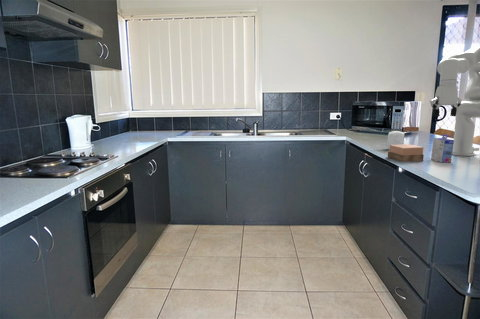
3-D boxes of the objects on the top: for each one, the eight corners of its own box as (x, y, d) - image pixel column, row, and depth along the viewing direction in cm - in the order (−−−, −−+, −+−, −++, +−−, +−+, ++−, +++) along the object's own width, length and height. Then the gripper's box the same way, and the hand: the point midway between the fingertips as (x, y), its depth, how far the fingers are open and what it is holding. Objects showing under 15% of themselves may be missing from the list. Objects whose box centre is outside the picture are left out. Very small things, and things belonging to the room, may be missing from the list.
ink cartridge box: (452, 162, 166) (455, 135, 163) (441, 162, 166) (444, 135, 163) (440, 159, 176) (442, 133, 173) (430, 159, 176) (433, 133, 173)
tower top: (408, 150, 183) (408, 144, 183) (422, 154, 172) (423, 147, 171) (389, 151, 182) (389, 145, 181) (402, 155, 170) (403, 148, 169)
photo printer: (401, 148, 211) (403, 130, 209) (404, 149, 207) (405, 131, 205) (385, 148, 212) (387, 130, 210) (388, 149, 208) (389, 131, 206)
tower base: (408, 157, 185) (408, 150, 184) (423, 161, 172) (423, 154, 171) (387, 158, 183) (387, 151, 183) (400, 162, 171) (401, 155, 170)
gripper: (458, 83, 167) (454, 115, 171) (427, 84, 166) (424, 116, 169) (469, 82, 160) (465, 116, 163) (437, 83, 159) (434, 117, 162)
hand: (444, 116), depth 166 cm, fingers open, 9 cm apart
